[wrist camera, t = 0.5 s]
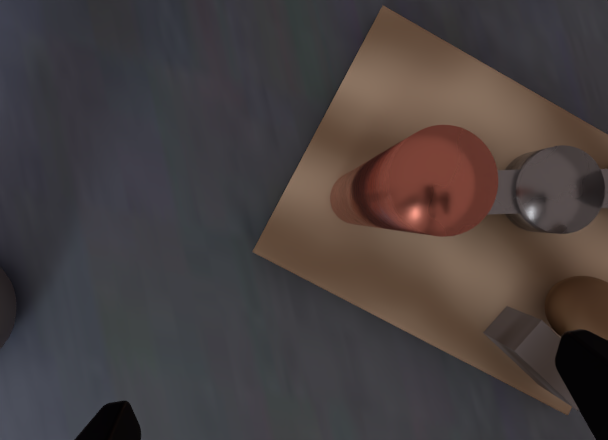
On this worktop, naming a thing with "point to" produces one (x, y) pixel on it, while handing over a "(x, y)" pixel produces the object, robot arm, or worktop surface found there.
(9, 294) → the plastic bottle
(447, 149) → the lever
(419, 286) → the wooden board
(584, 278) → the walnut
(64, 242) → the worktop surface
